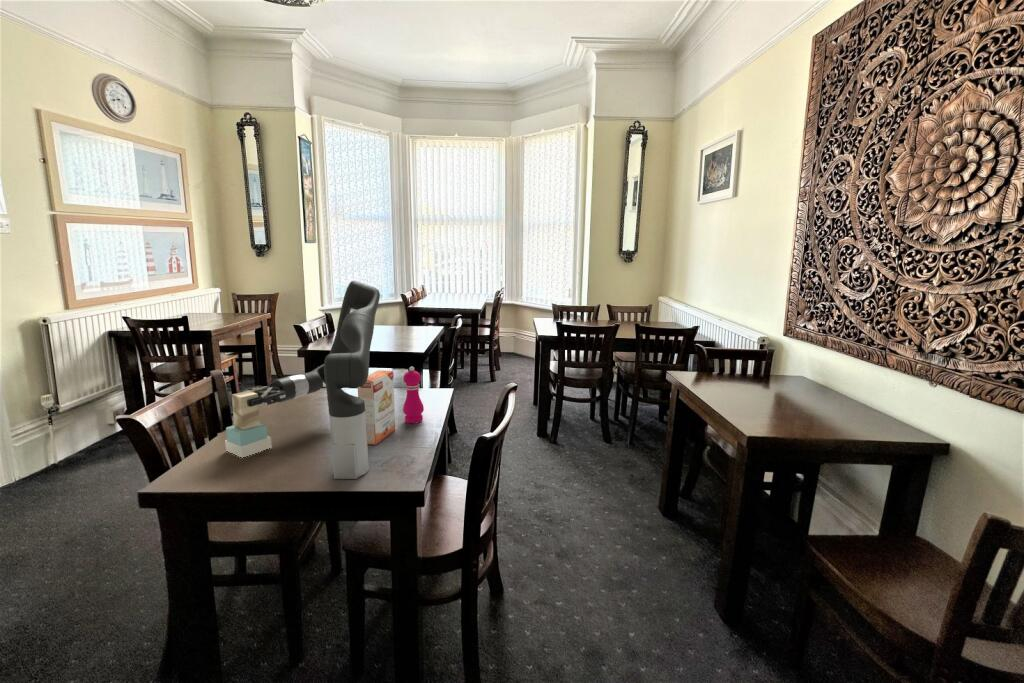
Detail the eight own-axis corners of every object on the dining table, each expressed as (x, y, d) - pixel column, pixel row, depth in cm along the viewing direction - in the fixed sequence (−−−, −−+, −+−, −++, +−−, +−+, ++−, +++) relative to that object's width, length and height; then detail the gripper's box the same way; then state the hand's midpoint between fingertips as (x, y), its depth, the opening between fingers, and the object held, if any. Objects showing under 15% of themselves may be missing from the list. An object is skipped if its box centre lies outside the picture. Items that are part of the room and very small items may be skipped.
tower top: (267, 437, 144) (266, 425, 143) (240, 446, 137) (239, 433, 136) (253, 432, 148) (252, 420, 147) (227, 440, 141) (225, 427, 141)
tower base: (272, 449, 145) (270, 436, 144) (242, 459, 137) (241, 446, 137) (255, 442, 150) (254, 430, 149) (226, 452, 142) (224, 440, 141)
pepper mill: (399, 420, 168) (397, 366, 164) (416, 415, 173) (414, 363, 169) (410, 425, 163) (408, 370, 159) (428, 420, 168) (426, 366, 164)
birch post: (259, 425, 143) (257, 393, 141) (242, 430, 138) (240, 397, 137) (251, 422, 145) (248, 390, 144) (234, 426, 141) (231, 394, 139)
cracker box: (377, 446, 146) (373, 381, 142) (359, 444, 147) (355, 380, 144) (397, 429, 160) (394, 370, 156) (380, 428, 161) (377, 369, 157)
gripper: (275, 373, 156) (225, 385, 142) (302, 379, 148) (252, 392, 135) (278, 395, 157) (228, 409, 143) (304, 402, 150) (254, 417, 136)
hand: (239, 401), depth 139 cm, fingers open, 8 cm apart
